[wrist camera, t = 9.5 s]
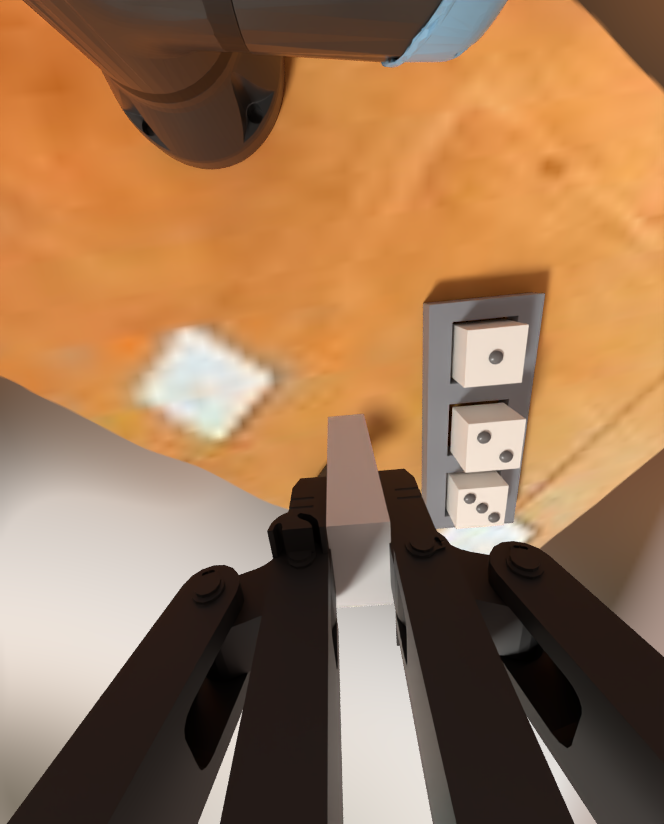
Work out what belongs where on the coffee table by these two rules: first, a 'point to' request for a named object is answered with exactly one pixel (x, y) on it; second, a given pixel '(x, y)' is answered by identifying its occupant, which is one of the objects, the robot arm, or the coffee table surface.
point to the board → (468, 389)
